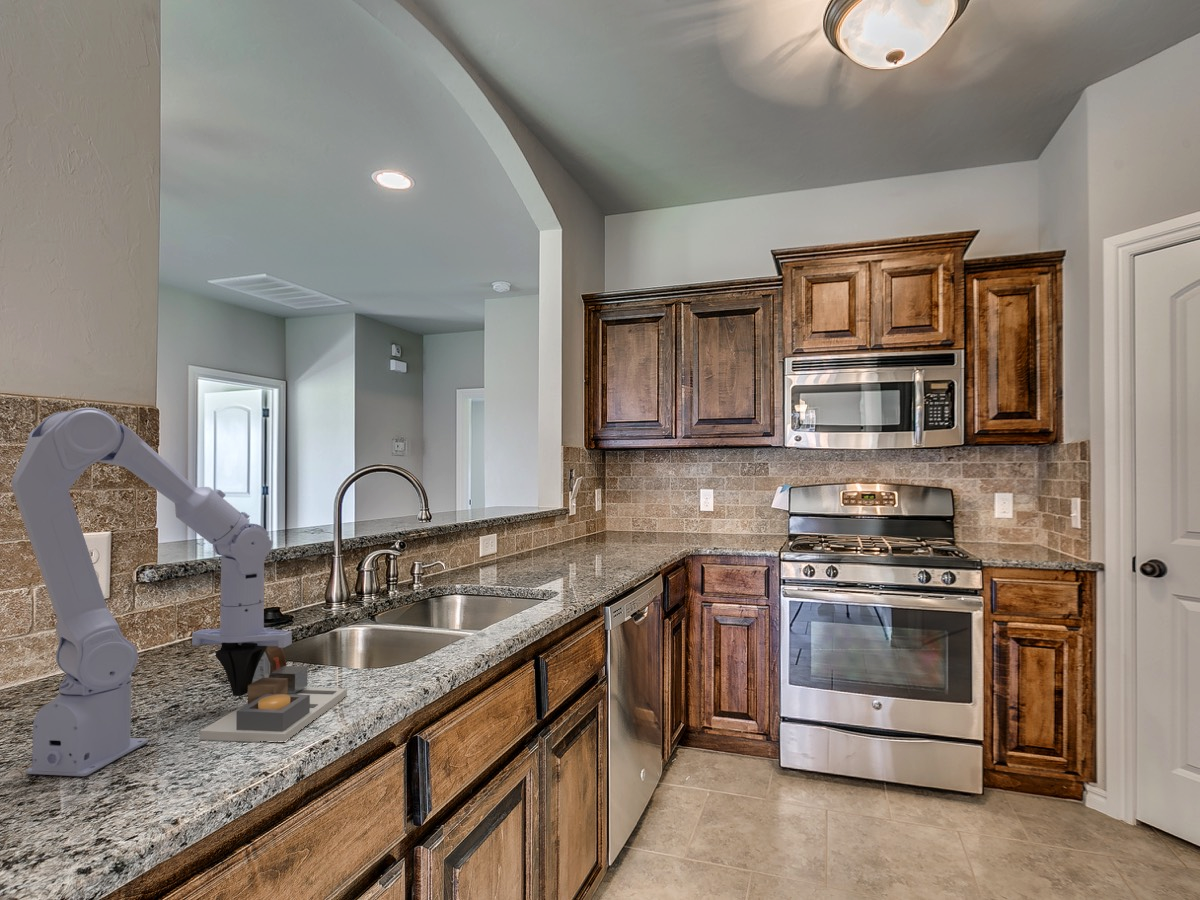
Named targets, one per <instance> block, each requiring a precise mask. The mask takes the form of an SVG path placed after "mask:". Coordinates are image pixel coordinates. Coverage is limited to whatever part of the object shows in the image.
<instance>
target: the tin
mask: <svg viewBox="0 0 1200 900" xmlns="http://www.w3.org/2000/svg"><path fill="white" fill-rule="evenodd" d="M286 659H287V657H286V653H285V652H284V649H283V648H279V647H278V646H267V649H266V650H265V652H264V654H263V655H262V657H261V659H260V661H259V663H258V666H257V668H256V671H255V674H254V677H253V680H252V683H253V682H255V681H257V680H259V679H261V678H271V673H272V672H274V671H276V670H277V669H279V668H281V667H283V666H287V660H286Z"/></svg>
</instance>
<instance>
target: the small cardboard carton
mask: <svg viewBox="0 0 1200 900" xmlns="http://www.w3.org/2000/svg"><path fill="white" fill-rule="evenodd" d="M287 688H288V678H261V679H259V680H257V681H255V682H253V683H252V684H250V685H248V693H247V703H248V704H250V703H251V702H253V701H255V700H256V699H258V698H260V697H262V696H263V695H265V694H287Z"/></svg>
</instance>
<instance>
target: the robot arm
mask: <svg viewBox="0 0 1200 900" xmlns="http://www.w3.org/2000/svg"><path fill="white" fill-rule="evenodd" d="M95 463H103V464H107V465H112V466H119V467H122V468H124V469H126V470H128V472H131V473H132V474H134V475H135V476H136V477H137V478H139V479H141V481H142V482H145V484H147V485H149V486H150V487H151V488H153V489H155V490H156V491H157V492H158V493H159V494H162V496H164V497H165V498H166V499H169V500H170V501H171V502H172V503H174V508H175V509H174V510H175V516H176V519H178V520H180V521H181V522H182V523H183V524H185V525H186V526H187V527H188V528H190V529H191V530H192V531H194V532H195V533H196V534H197V535H198V536H200V537H201V538H203V539H204V540H205V541H207V542H208V543H209V544H211V545H212V546H213V547H212V548H213V550H214V552H215V554H216V555H219V556H221V557H220V603H219V604H220V607H219V609H220V611H219V612H220V613H219V614H220V615H219V616H220V617H219V621H220V622H219V628H211V629H208V628H207V629H202V628H201V629H199V630H196V631H193V632H192V633H191V634H192V635H191V643H192V644H191V645H192V646H201V645H217V646H219V645H220V649H218V650H217V651H215V658H216V659H217V660H218V661H219V663H220V664H221V666H222V668H223V669H224V671H225V674H226V676H227V679H228V681H229V685H230V688H231V692H232V695H233V696H234V697H243V696H245V695H246V694H248V685H250V684H252V680H253V677H254V674H255V671H256V668H257V666H258V663H259V661H260V659H261V657H262V655H263V654H264V652H265V650H266V649H267V646H278V647H279V648H286V647H288V646H290V645H292V644H293V643H292V641H293V638H292V637H293V635H292V634H293V631H292V630H291V631H290V630H279V629H273V628H269V627H267V628H266V627H265V626H264V625H265V620H264V619H265V615H264V613H265V611H264V610H265V560H266V557H267V556H268V555H269V554H270V552H271V551H272V548H273V547H272V546H273V543H274V541H273V540H271V538H270V536H268V535H270V534H269V533H268V531H267V530H266V528H265V527H263V526H262V525H260V524H258V523H257V524H256V523H250V522H249V518H250V515H249V514H248V513H246V512H245V511H241V512H240V511H239V510H238V509H237V508H236V507H234V506H233V505H232V504H231V503H229V502H228V501H227V500H226V499H224V497H226V493H224V492H223V491H222V489H213V488H212V487H209V486H201V487H200V486H199V487H198V486H197V487H195V486H194V485H193V484H192V483H191V482H190V481H189V480H188V479H186V478H185V477H184V476H183V474H181V473H180V472H179V471H178V470H177V469H175V468H174V467H173V465H171V464H170V463H169V462H167V460H166V459H164V458H163V457H162V456H161V455H160V454H159V453H158V452H157V451H156V450H154V449H153V448H152V447H151V446H150V445H149V444H148V443H146V441H145V440H143V439H142V438H141V437H140V436H139V435H138V434H137V433H136V432H135V431H134V430H133V429H131V428H130V427H128V426H127V425H125V424H123V423H118V421H117V419H115V417H114V416H113V415H111V414H110V413H108V412H107V411H105V410H103V409H100V408H95V407H81V408H80V407H79V408H76V409H73V410H65V411H58V412H55V413H53V414H50V415H49V416H47V417H46V418H44V420H42V421H41V422H40V423H39V424H38V425H37V426H36V427H35V428H33V430H32V431H30V432H29V433H28V437H27V441H26V445H25V447H24V450H23V453H22V455H21V457H20V460H19V461H18V464H17V466H16V469H15V471H14V473H13V476H12V478H11V481H10V483H11V485H10V486H11V490H12V493H13V495H14V496H13V497H14V499H15V502H16V505H17V507H18V510H19V513H20V515H21V518H22V521H23V524H24V527H25V530H26V533H27V536H28V539H29V542H30V544H31V547H32V550H33V553H34V555H35V559H36V563H37V565H38V568H39V570H40V574H41V576H42V579H43V582H44V584H45V587H46V590H47V593H48V597H49V599H50V603H51V605H52V608H53V611H54V614H55V617H56V620H57V621H56V625H55V632H56V634H57V637H58V645H57V650H56V653H55V662H56V664H57V666H58V668H59V669H60V671H61V672H63V673H64V674H65V676H64V678H63V680H62V681H61V682H60V684H59V688H58V690H59V691H58V694H57V695H56V696H55V697H54V699H53V700H52V701H50V702H48V703H47V704H45V705H43V706H42V707H40V708H39V710H38V711H37V713H36V714H35V716H34V719H33V723H32V753H31V754H32V758H31V759H32V762H31V764H32V765H31V766H30V767H28V768H26V770H25V774H28V775H45V776H46V775H47V776H68V777H86V776H89V775H91V774H93V773H94V772H96V771H98V770H100V769H102V768H103V767H106V766H107V765H109V764H110V763H113V762H115V761H116V760H118V759H119V758H122V757H124V756H126V755H127V754H129V753H131V752H132V751H134V750H137V749H139V748H140V747H142V746H144V745H145V744H147V743H148V741H149V740H148V738H144V737H143V738H142V737H138V738H137V737H131V732H132V731H131V728H132V726H131V723H132V721H131V719H132V718H131V716H132V714H131V713H132V712H131V711H132V674H133V673H134V671H135V670H136V667H137V665H138V662H139V653H138V650H137V647H136V645H134V643H133V642H132V641H130V640H128V639H127V638H126V637H125V636H124V635H123V632H121V628H120V625H119V623H118V622H117V620H116V619H115V617H114V616H113V614H112V613H111V611H110V610H109V608H108V606H107V602H106V599H105V597H104V593H103V590H102V587H101V584H100V582H99V581H100V580H99V578H98V575H97V572H96V570H95V569H96V568H95V566H94V563H93V560H92V557H91V555H90V554H91V553H90V551H89V548H88V545H87V543H86V540H85V539H86V538H85V536H84V532H83V529H82V526H81V523H80V521H79V518H78V515H77V511H76V509H75V506H74V502H73V499H72V497H71V494H70V489H71V487H72V486H73V485H74V483H76V481H77V480H78V479H79V478H80V477H81V476H82V475H83V473H84V472H85V471H86V470H87V468H89V467H90V466H93V464H95Z"/></svg>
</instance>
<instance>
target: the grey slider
mask: <svg viewBox="0 0 1200 900" xmlns="http://www.w3.org/2000/svg"><path fill="white" fill-rule="evenodd" d="M271 678H288V688H287V693H296V692H298V691H299V690H301V689H303V688H304V687H308V666H303V665H302V666H299V665H298V666H296V665H293V666H291V665H286V666H283V667H281V668H279V669H277V670H276V671H274V672H272V673H271Z"/></svg>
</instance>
